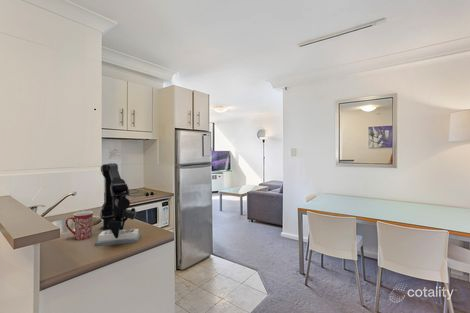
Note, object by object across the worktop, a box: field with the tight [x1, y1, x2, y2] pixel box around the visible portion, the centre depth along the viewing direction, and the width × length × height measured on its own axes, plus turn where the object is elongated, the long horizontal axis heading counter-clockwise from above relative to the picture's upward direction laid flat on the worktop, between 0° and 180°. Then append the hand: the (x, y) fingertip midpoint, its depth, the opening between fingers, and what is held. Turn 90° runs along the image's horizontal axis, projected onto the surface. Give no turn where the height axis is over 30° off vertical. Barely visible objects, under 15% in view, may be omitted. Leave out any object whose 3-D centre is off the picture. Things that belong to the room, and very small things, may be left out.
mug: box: [65, 210, 94, 241], centre depth 123 cm, size 13×9×14 cm
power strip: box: [97, 228, 139, 241], centre depth 120 cm, size 6×18×3 cm, turn 103°
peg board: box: [94, 228, 142, 247], centre depth 120 cm, size 10×20×6 cm, turn 104°
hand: (119, 234), depth 120 cm, fingers open, 9 cm apart
